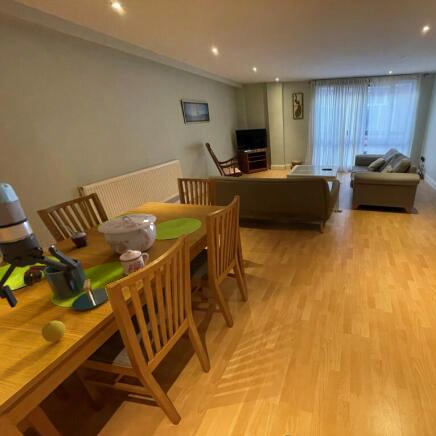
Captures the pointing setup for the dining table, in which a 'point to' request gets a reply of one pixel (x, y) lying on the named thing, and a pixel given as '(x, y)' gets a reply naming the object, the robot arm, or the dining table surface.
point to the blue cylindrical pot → (59, 282)
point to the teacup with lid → (132, 261)
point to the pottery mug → (33, 274)
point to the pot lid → (90, 297)
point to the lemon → (53, 331)
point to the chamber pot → (129, 232)
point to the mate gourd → (78, 238)
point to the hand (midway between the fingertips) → (44, 296)
